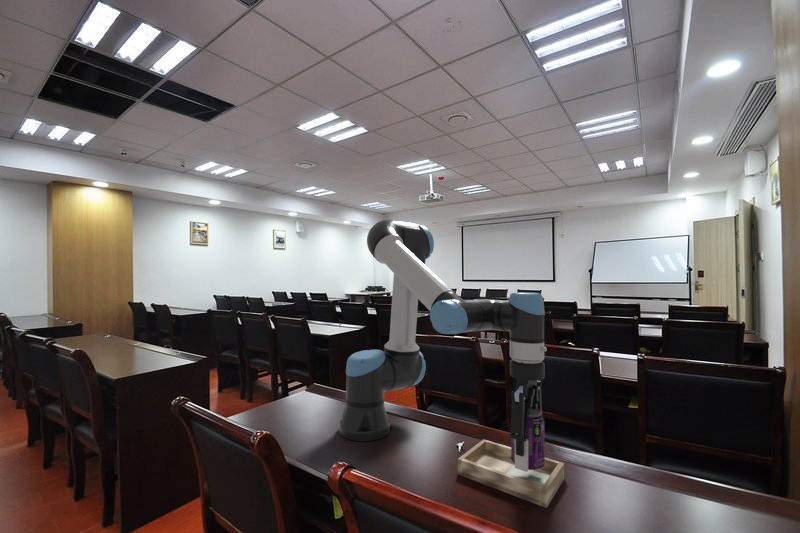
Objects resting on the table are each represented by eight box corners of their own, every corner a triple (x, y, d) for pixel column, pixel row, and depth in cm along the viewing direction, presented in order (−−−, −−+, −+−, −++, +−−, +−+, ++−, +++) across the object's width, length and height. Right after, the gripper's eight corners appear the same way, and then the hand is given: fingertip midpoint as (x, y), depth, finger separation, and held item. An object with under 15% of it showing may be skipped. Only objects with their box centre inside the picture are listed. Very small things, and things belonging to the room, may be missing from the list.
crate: (457, 474, 83) (457, 458, 83) (483, 452, 94) (483, 439, 94) (546, 508, 71) (546, 490, 71) (564, 478, 82) (564, 463, 82)
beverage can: (547, 474, 76) (547, 417, 77) (513, 470, 77) (512, 414, 78) (541, 458, 83) (541, 406, 84) (509, 455, 84) (509, 404, 85)
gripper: (529, 370, 71) (529, 487, 70) (556, 355, 87) (557, 451, 86) (493, 364, 76) (493, 474, 75) (525, 351, 92) (525, 442, 90)
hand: (527, 462), depth 80 cm, fingers closed on beverage can, 7 cm apart
